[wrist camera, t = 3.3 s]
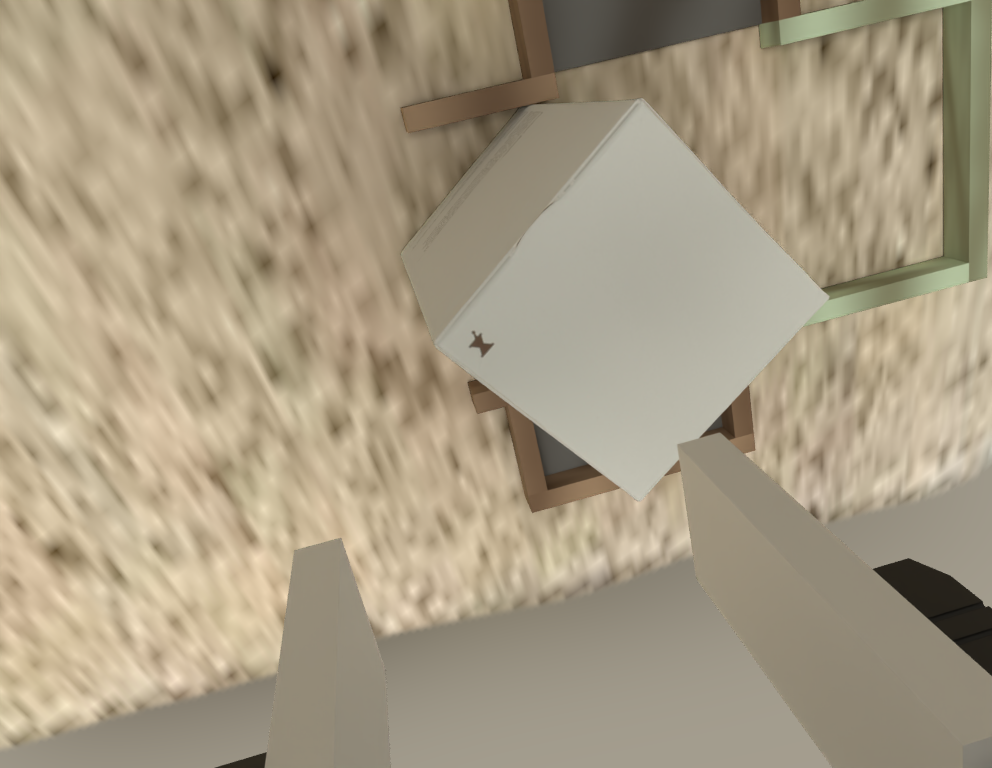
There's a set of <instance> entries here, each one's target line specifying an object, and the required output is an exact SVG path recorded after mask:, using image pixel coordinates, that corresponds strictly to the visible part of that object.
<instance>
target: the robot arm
mask: <svg viewBox="0 0 992 768" xmlns="http://www.w3.org/2000/svg"><path fill="white" fill-rule="evenodd" d="M677 447H678V454H679V461H680V468H681V475H682V482H683V489H684V496H685V503H686V510H687V517H688V524H689V531H690V538H691V545H692V552H693V559H694V565H695V572H696V579H697V580H698V581H699V583H700V584H701V586H702V587H703V589H704V590H705V591H706V593H707V594H708V596H709V597H710V598H711V600H712V601H713V602H714V604H715V605H716V607H717V608H718V610H719V611H720V612H721V614H722V615H723V616H724V618H725V619H726V620H727V622H728V623H729V625H730V626H731V628H732V629H733V630H734V632H735V633H736V635H737V636H738V637H739V639H740V640H741V641H742V643H743V644H744V646H745V647H746V648H747V650H748V651H749V652H750V654H751V655H752V657H753V658H754V660H755V661H756V662H757V664H758V665H759V666H760V668H761V669H762V671H763V672H764V673H765V675H766V676H767V678H768V679H769V680H770V682H771V683H772V684H773V686H774V687H775V689H776V690H777V691H778V693H779V694H780V696H781V697H782V698H783V700H784V701H785V703H786V704H787V705H788V707H789V708H790V710H791V711H792V712H793V713H794V715H795V716H796V718H797V719H798V721H799V722H800V723H801V725H802V726H803V728H804V729H805V730H806V732H807V733H808V734H809V736H810V737H811V739H812V740H813V741H814V743H815V744H816V746H817V747H818V748H819V750H820V751H821V752H822V754H823V755H824V757H825V758H826V759H827V761H828V762H829V764H830V765H831V766H832V768H992V608H990V607H989V606H988V607H985V606H984V605H983V601H981V600H980V599H979V598H978V597H976V596H975V595H974V594H973V593H972V592H970V591H969V590H968V589H966V588H965V587H964V586H963V585H961V584H960V583H959V582H958V581H956V580H955V579H954V578H953V577H951V576H950V575H947V574H945V573H943V572H940V571H938V570H935V569H933V568H930V567H928V566H926V565H923V564H921V563H919V562H916V561H914V560H912V559H909V558H908V559H905V560H902V561H898V562H895V563H891V564H888V565H884V566H881V567H878V568H875V569H872V568H870V567H869V566H868V565H867V564H866V563H865V562H864V561H863V560H862V559H860V558H859V557H858V556H857V555H856V554H855V553H854V552H853V551H852V550H850V549H849V548H848V547H847V546H846V545H845V544H844V543H843V542H842V541H840V540H839V539H838V538H837V537H836V536H835V535H834V534H833V533H832V532H830V531H829V530H828V529H827V528H826V527H825V526H824V525H823V524H822V523H820V522H819V521H818V520H817V519H816V518H815V517H814V516H813V515H812V514H810V513H809V512H808V511H807V510H806V509H805V508H804V507H803V506H801V505H800V504H799V503H798V502H797V501H796V500H795V499H794V498H793V497H791V496H790V495H789V494H788V493H787V492H786V491H785V490H784V489H783V488H781V487H780V486H779V485H778V484H777V483H776V482H775V481H774V480H772V479H771V478H770V477H769V476H768V475H767V474H766V473H765V472H764V471H762V470H761V469H760V468H759V467H758V466H757V465H756V464H755V463H754V462H752V461H751V460H750V459H749V458H748V457H747V456H746V455H745V454H744V453H742V452H741V451H740V450H739V449H738V448H737V447H736V446H735V445H733V444H732V443H731V442H730V441H729V440H728V439H727V438H726V437H725V436H723V435H722V434H721V433H716V434H713V435H709V436H705V437H702V438H698V439H695V440H691V441H687V442H684V443H680V444H677ZM390 763H391V762H390V743H389V726H388V707H387V688H386V670H385V667H384V664H383V661H382V658H381V655H380V652H379V649H378V647H377V643H376V640H375V637H374V634H373V631H372V628H371V625H370V622H369V619H368V616H367V613H366V611H365V608H364V605H363V602H362V599H361V596H360V593H359V590H358V587H357V584H356V581H355V578H354V575H353V572H352V569H351V566H350V563H349V560H348V557H347V554H346V551H345V548H344V545H343V542H342V539H341V538H338V539H334V540H331V541H327V542H324V543H320V544H316V545H313V546H309V547H306V548H302V549H298V550H295V551H294V556H293V564H292V571H291V578H290V586H289V593H288V600H287V608H286V615H285V622H284V630H283V637H282V644H281V652H280V659H279V666H278V674H277V681H276V689H275V696H274V704H273V710H272V718H271V725H270V732H269V740H268V747H267V752H266V753H263V754H259V755H256V756H253V757H249V758H246V759H243V760H239V761H236V762H233V763H230V764H226V765H222V766H219V767H216V768H391V764H390Z"/></svg>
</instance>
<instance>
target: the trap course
mask: <svg viewBox="0 0 992 768" xmlns="http://www.w3.org/2000/svg"><path fill="white" fill-rule="evenodd" d="M508 2H509V8H510V13H511V18H512V23H513V29H514V34H515V39H516V45H517V50H518V55H519V61H520V66H521V71H522V77H523V80H518V81H514V82H510V83H505V84H501V85H497V86H492V87H488V88H484V89H480V90H475V91H471V92H467V93H462V94H458V95H454V96H449V97H445V98H441V99H437V100H432V101H428V102H424V103H419V104H415V105H411V106H407V107H402V108H401V113H402V117H403V121H404V125H405V129H406V132H408V133H411V132H416V131H420V130H424V129H428V128H433V127H437V126H441V125H445V124H450V123H454V122H458V121H462V120H467V119H471V118H475V117H479V116H484V115H488V114H492V113H496V112H501V111H505V110H509V109H513V108H518V107H522V106H526V105H530V104H535V103H539V102H543V101H547V100H551V99H556V98H559V94H558V89H557V83H556V77H555V72H557V71H562V70H566V69H570V68H575V67H579V66H583V65H587V64H592V63H596V62H600V61H605V60H609V59H613V58H618V57H622V56H626V55H630V54H635V53H639V52H643V51H648V50H652V49H656V48H660V47H665V46H669V45H673V44H678V43H682V42H686V41H691V40H695V39H699V38H703V37H708V36H712V35H716V34H721V33H725V32H729V31H734V30H738V29H742V28H746V27H751V26H755V25H759V32H760V45H761V48H766V47H773V46H780V45H785V44H789V43H793V42H798V41H802V40H806V39H810V38H815V37H819V36H823V35H827V34H832V33H836V32H840V31H844V30H849V29H853V28H857V27H861V26H865V25H870V24H874V23H878V22H882V21H887V20H891V19H895V18H899V17H904V16H908V15H912V14H916V13H921V12H925V11H929V10H933V9H938V8H942V7H943V193H944V257H940V258H936V259H932V260H929V261H925V262H921V263H917V264H913V265H910V266H906V267H902V268H898V269H895V270H891V271H887V272H883V273H879V274H876V275H872V276H868V277H864V278H861V279H857V280H853V281H849V282H845V283H842V284H838V285H834V286H830V287H826V288H823V289H822V290H823V291H824V292H825V293H826V294H827V295H828V296H829V299H828V300H827V301H826V302H825V303H824V304H823V306H822V307H821V308H820V309H819V310H818V311H817V312H816V313H815V314H814V315H813V316H812V317H811V318H810V319H809V320H808V321H807V322H806V323H805V325H804V326H808V325H811V324H815V323H819V322H823V321H826V320H830V319H834V318H838V317H841V316H845V315H849V314H852V313H856V312H860V311H864V310H867V309H871V308H875V307H879V306H882V305H886V304H890V303H893V302H897V301H901V300H905V299H908V298H912V297H916V296H920V295H923V294H927V293H931V292H935V291H938V290H942V289H946V288H949V287H953V286H957V285H961V284H964V283H968V282H972V281H976V280H979V279H983V278H987V253H988V197H989V142H990V87H991V32H992V0H862V1H858V2H853V3H849V4H845V5H840V6H836V7H832V8H828V9H823V10H819V11H815V12H810V13H806V14H802V15H801V9H800V0H508ZM804 326H803V327H804ZM468 386H469V390H470V394H471V398H472V401H473V404H474V406H475V409H476V411H477V414H479V413H483V412H487V411H491V410H494V409H498V408H502V407H505V411H506V415H507V420H508V424H509V428H510V433H511V437H512V441H513V446H514V450H515V454H516V459H517V463H518V468H519V472H520V476H521V481H522V485H523V489H524V494H525V497H526V499H527V502H528V504H529V506H530V509H531V511H532V513H534V512H537V511H541V510H544V509H548V508H552V507H555V506H559V505H562V504H566V503H569V502H573V501H576V500H580V499H584V498H587V497H591V496H594V495H598V494H601V493H605V492H609V491H612V490H616V489H619V488H620V487H619V486H617V485H616V484H615V483H613V482H612V481H611V480H609V479H608V478H607V477H605V476H604V475H603V474H601V473H600V472H599V471H597V470H596V469H595V468H593V467H592V466H591V465H589V464H588V463H587V462H585V461H584V460H583V459H581V458H580V457H579V456H577V455H576V454H575V453H574V452H572V451H571V450H570V449H568V448H567V447H565V446H564V445H563V444H561V443H560V442H559V441H557V440H556V439H555V438H553V437H552V436H551V435H549V434H548V433H547V432H545V431H544V430H543V429H541V428H540V427H539V426H537V425H536V424H535V423H533V422H532V421H531V420H529V419H528V418H527V417H525V416H524V415H523V414H521V413H520V412H519V411H518V410H516V409H515V408H514V407H512V406H511V405H510V404H508V403H507V402H506V401H504V400H503V399H502V398H500V397H499V396H498V395H496V394H495V393H494V392H492V391H491V390H490V389H488V388H487V387H486V386H484V385H483V384H482V383H480V382H479V381H478V380H475V381H471V382H468ZM716 433H721V434H722V435H723V436H725V437H726V438H727V439H728V440H729V441H730V442H731V443H732V444H733V445H735V446H736V447H737V448H738V449H739V450H740V451H741V452H742V453H748V452H751V451H755V441H754V432H753V422H752V412H751V402H750V393H749V385H748V386H747V387H746V388H745V389H744V390H743V391H742V393H741V394H740V395H739V396H738V397H737V398H736V399H735V400H734V401H733V402H732V403H731V404H730V405H729V407H728V408H727V409H726V410H725V411H724V412H723V413H722V414H721V415H720V416H719V417H718V418H717V419H716V420H715V422H714V423H713V424H712V425H711V426H710V427H709V428H708V429H707V430H706V431H705V432H704V433H703V434H702V435H701V436H700V438H702V437H705V436H709V435H713V434H716ZM680 471H681V468H680V461H679V460H678V461H677V462H676V463H675V464H674V465H673V466H672V468H671V469H670V470H669V471H668V472H667V473H666V474H665V475H664V476H666V475H669V474H673V473H676V472H680Z"/></svg>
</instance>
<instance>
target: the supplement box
mask: <svg viewBox="0 0 992 768" xmlns="http://www.w3.org/2000/svg"><path fill="white" fill-rule="evenodd" d="M401 257H402V260H403V263H404V266H405V268H406V271H407V273H408V276H409V279H410V281H411V284H412V287H413V290H414V292H415V295H416V297H417V300H418V303H419V305H420V308H421V311H422V313H423V316H424V319H425V322H426V324H427V327H428V330H429V332H430V335H431V338H432V341H433V344H434V345H435V347H436V348H437V349H438V350H439V351H440V352H442V353H443V354H444V355H446V356H447V357H448V358H449V359H451V360H452V361H453V362H455V363H456V364H457V365H459V366H460V367H461V368H462V369H464V370H465V371H466V372H468V373H469V374H470V375H471V376H473V377H474V378H475V379H477V380H478V381H479V382H480V383H482V384H483V385H484V386H486V387H487V388H488V389H490V390H491V391H492V392H494V393H495V394H496V395H498V396H499V397H500V398H502V399H503V400H504V401H506V402H507V403H508V404H510V405H511V406H512V407H514V408H515V409H516V410H518V411H519V412H520V413H521V414H523V415H524V416H525V417H527V418H528V419H529V420H531V421H532V422H533V423H535V424H536V425H537V426H539V427H540V428H541V429H543V430H544V431H545V432H547V433H548V434H549V435H551V436H552V437H553V438H555V439H556V440H557V441H559V442H560V443H561V444H563V445H564V446H565V447H567V448H568V449H570V450H571V451H572V452H574V453H575V454H576V455H577V456H579V457H580V458H581V459H583V460H584V461H585V462H587V463H588V464H589V465H591V466H592V467H593V468H595V469H596V470H597V471H599V472H600V473H601V474H603V475H604V476H605V477H607V478H608V479H609V480H611V481H612V482H613V483H615V484H616V485H617V486H619V487H620V488H621V489H623V490H624V491H625V492H627V493H628V494H629V495H630V496H632V497H633V498H634V499H635V500H637V501H642V499H643V498H644V497H645V496H646V495H647V494H648V493H649V492H650V490H651V489H652V488H653V487H654V486H655V485H656V484H657V483H658V482H659V481H660V479H661V478H662V477H663V476H664V475H665V474H666V473H667V472H668V471H669V470H670V469H671V468H672V466H673V465H674V464H675V463H676V462H677V461H678V460H679V454H678V447H677V444H680V443H684V442H687V441H691V440H695V439H698V438H700V436H701V435H702V434H703V433H704V432H705V431H706V430H707V429H708V428H709V427H710V426H711V425H712V424H713V423H714V422H715V420H716V419H717V418H718V417H719V416H720V415H721V414H722V413H723V412H724V411H725V410H726V409H727V408H728V407H729V405H730V404H731V403H732V402H733V401H734V400H735V399H736V398H737V397H738V396H739V395H740V394H741V393H742V391H743V390H744V389H745V388H746V387H747V386H748V385H749V384H750V383H751V382H752V381H753V380H754V379H755V377H756V376H757V375H758V374H759V373H760V372H761V371H762V370H763V369H764V368H765V367H766V366H767V365H768V363H769V362H770V361H771V360H772V359H773V358H774V357H775V356H776V355H777V354H778V353H779V352H780V350H781V349H782V348H783V347H784V346H785V345H786V344H787V343H788V342H789V341H790V340H791V339H792V338H793V336H794V335H795V334H796V333H797V332H798V331H799V330H800V329H801V328H802V327H803V326H804V325H805V323H806V322H807V321H808V320H809V319H810V318H811V317H812V316H813V315H814V314H815V313H816V312H817V311H818V310H819V309H820V308H821V307H822V306H823V304H824V303H825V302H826V301H827V300H828V299H829V296H828V295H827V294H826V293H825V292H824V291H823V290H822V289H821V288H820V287H819V286H818V285H817V284H816V283H815V282H814V281H813V280H812V279H811V278H810V277H809V276H808V275H807V274H806V272H805V271H804V270H803V269H802V268H801V267H800V266H799V265H798V264H797V263H796V262H795V261H794V260H793V259H792V258H791V257H790V256H789V255H788V254H787V253H786V252H785V251H784V250H783V249H782V248H781V247H780V246H779V245H778V244H777V243H776V242H775V241H774V240H773V239H772V238H771V237H770V236H769V235H768V233H767V232H766V231H765V230H764V229H763V228H762V227H761V226H760V225H759V224H758V223H757V222H756V221H755V220H754V219H753V218H752V217H751V216H750V215H749V213H748V212H747V211H746V210H745V209H744V208H743V207H742V206H741V205H740V204H739V203H738V202H737V201H736V199H735V198H734V197H733V196H732V195H731V194H730V193H729V192H728V191H727V190H726V189H725V187H724V186H723V185H722V184H721V183H720V182H719V181H718V179H717V178H716V177H715V176H714V175H713V174H712V173H711V172H710V170H709V169H708V168H707V167H706V166H705V165H704V164H703V163H702V162H701V161H700V160H699V158H698V157H697V156H696V155H695V154H694V153H693V152H692V151H691V150H690V149H689V148H688V146H687V145H686V144H685V143H684V142H683V141H682V140H681V139H680V138H679V136H678V135H677V134H676V133H675V132H674V131H673V130H672V129H671V128H670V127H669V125H668V124H667V123H666V122H665V121H664V120H663V119H662V118H661V117H660V116H659V115H658V114H657V112H656V111H655V110H654V109H653V108H652V107H651V106H650V105H649V104H648V103H647V102H646V101H645V100H644V99H643V98H638V99H632V100H618V101H598V102H576V103H552V104H530V105H526V106H522V107H520V108H519V109H518V110H517V112H516V113H515V114H514V115H513V116H512V118H511V119H510V120H509V121H508V122H507V124H506V125H505V126H504V127H503V128H502V130H501V131H500V132H499V133H498V135H497V136H496V137H495V138H494V139H493V141H492V142H491V143H490V144H489V145H488V147H487V148H486V149H485V150H484V151H483V153H482V154H481V155H480V156H479V157H478V159H477V160H476V161H475V162H474V163H473V165H472V166H471V167H470V168H469V170H468V171H467V172H466V173H465V174H464V176H463V177H462V178H461V179H460V181H459V182H458V183H457V184H456V185H455V187H454V188H453V189H452V190H451V192H450V193H449V194H448V195H447V196H446V198H445V199H444V200H443V201H442V203H441V204H440V205H439V206H438V207H437V209H436V210H435V211H434V212H433V214H432V215H431V216H430V217H429V218H428V220H427V221H426V222H425V223H424V225H423V226H422V227H421V228H420V229H419V231H418V232H417V233H416V234H415V236H414V237H413V238H412V239H411V240H410V242H409V243H408V244H407V245H406V247H405V248H404V249H403V251H402V252H401Z"/></svg>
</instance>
